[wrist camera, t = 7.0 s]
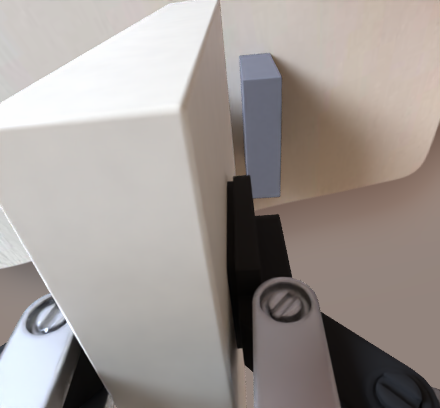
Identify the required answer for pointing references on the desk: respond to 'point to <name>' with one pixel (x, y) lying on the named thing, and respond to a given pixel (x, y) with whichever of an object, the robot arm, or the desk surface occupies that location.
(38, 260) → the thin book
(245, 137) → the grey books
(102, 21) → the desk surface
